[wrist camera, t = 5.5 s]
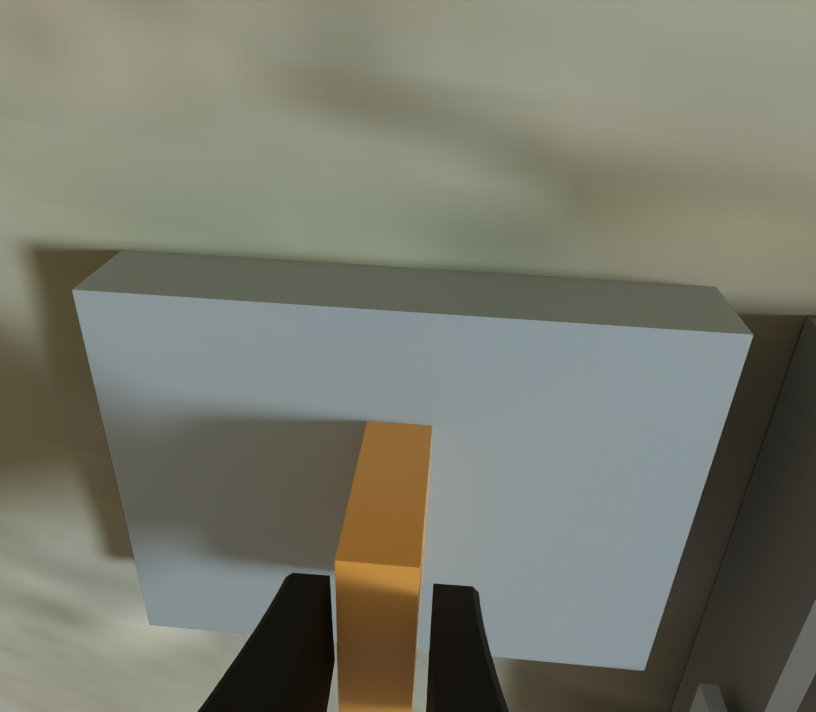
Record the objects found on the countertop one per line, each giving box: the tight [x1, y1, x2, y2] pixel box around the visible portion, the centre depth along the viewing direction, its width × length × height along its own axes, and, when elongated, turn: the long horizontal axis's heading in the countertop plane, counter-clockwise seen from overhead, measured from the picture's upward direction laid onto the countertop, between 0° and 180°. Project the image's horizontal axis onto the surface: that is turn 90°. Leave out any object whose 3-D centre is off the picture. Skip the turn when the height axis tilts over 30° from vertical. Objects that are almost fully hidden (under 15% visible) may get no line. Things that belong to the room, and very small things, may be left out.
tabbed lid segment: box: [72, 250, 753, 712], centre depth 13 cm, size 9×11×5 cm
